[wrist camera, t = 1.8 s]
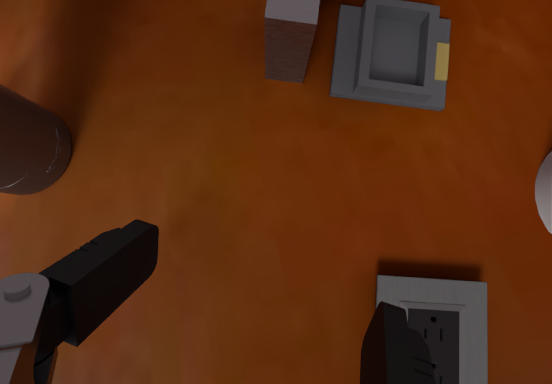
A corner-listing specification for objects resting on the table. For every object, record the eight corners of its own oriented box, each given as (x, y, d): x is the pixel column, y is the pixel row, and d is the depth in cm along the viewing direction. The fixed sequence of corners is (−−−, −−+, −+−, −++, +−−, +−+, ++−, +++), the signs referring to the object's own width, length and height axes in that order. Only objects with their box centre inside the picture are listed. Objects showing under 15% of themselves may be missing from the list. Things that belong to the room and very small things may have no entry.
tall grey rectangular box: (265, 78, 34) (264, 17, 24) (272, 26, 35) (274, -55, 25) (302, 83, 34) (316, 24, 24) (308, 31, 35) (325, -47, 25)
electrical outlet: (371, 272, 33) (379, 275, 30) (473, 278, 33) (489, 282, 30) (366, 409, 31) (374, 424, 29) (473, 416, 31) (490, 431, 29)
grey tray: (329, 96, 34) (334, 84, 31) (339, 9, 35) (345, -10, 32) (440, 111, 34) (455, 100, 31) (446, 24, 35) (462, 6, 33)
